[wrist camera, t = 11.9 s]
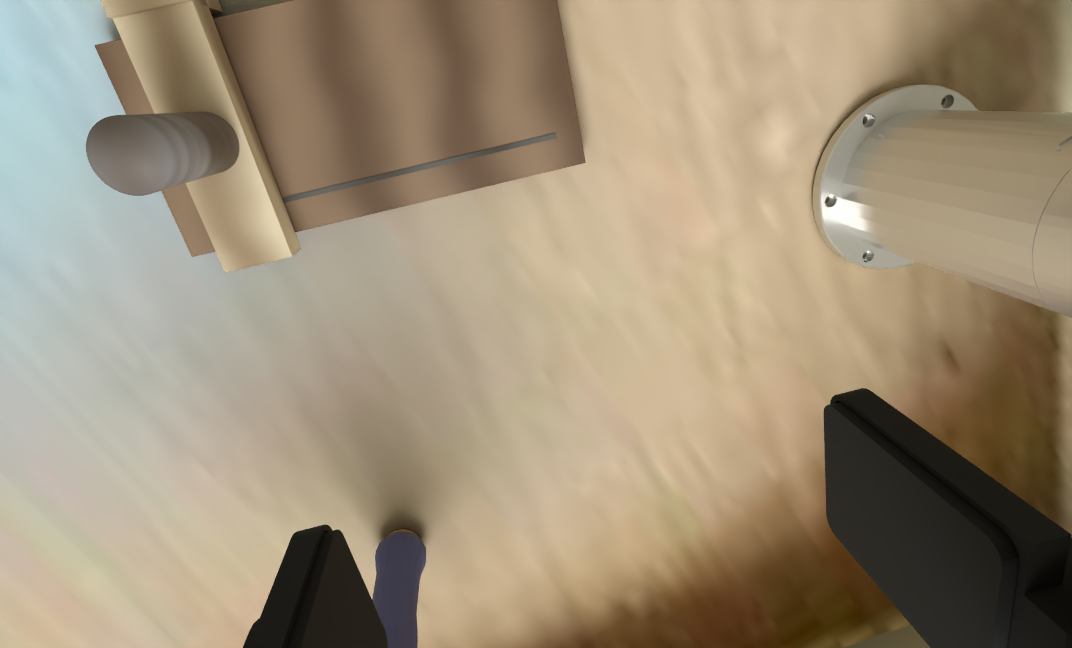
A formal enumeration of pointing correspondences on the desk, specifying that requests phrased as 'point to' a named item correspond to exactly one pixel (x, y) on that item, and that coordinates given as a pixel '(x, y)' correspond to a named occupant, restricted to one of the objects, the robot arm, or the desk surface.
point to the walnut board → (388, 101)
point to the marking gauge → (192, 132)
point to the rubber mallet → (399, 586)
